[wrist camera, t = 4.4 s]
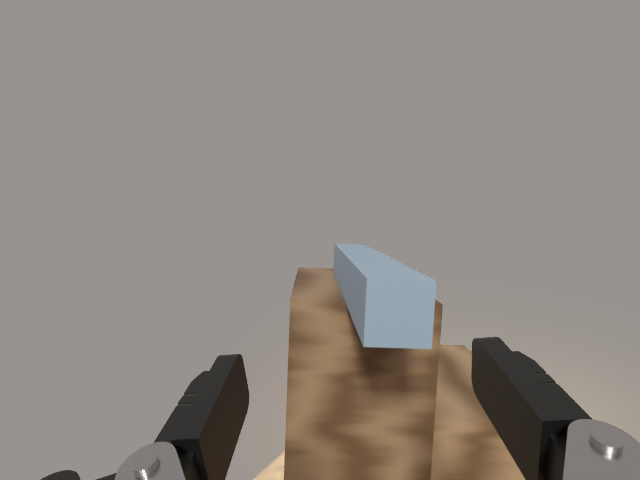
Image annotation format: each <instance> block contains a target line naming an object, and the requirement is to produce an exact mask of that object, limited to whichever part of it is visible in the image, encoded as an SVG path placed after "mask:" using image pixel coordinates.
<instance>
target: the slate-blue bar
mask: <svg viewBox="0 0 640 480" xmlns="http://www.w3.org/2000/svg"><path fill="white" fill-rule="evenodd" d="M333 273H334V276H335V278H336V281H337V283H338V286H339V288H340V291H341V293H342V296H343V298H344V300H345V303H346V305H347V308H348V310H349V313H350V315H351V318H352V320H353V323H354V325H355V328H356V330H357V332H358V335H359V337H360V340H361V342H362V345H363V347H378V348H413V349H432V340H433V325H434V310H435V293H436V281H435V280H433V279H431V278H429V277H427V276H425V275H423V274H421V273H419V272H417V271H416V270H413V269H412V268H410V267H407V266H406V265H404V264H402V263H400V262H398V261H396V260H394V259H392V258H390V257H388V256H386V255H384V254H382V253H380V252H378V251H376V250H374V249H372V248H370V247H368V246H366V245H362V244H336V243H335V246H334V269H333Z"/></svg>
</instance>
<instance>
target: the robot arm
mask: <svg viewBox="0 0 640 480" xmlns="http://www.w3.org/2000/svg"><path fill="white" fill-rule="evenodd" d="M471 379H472V386H473V390H474V393H475V395H476V397H477V399H478V401H479V403H480V404H481V406H482V408H483V409H484V411H485V413H486V414H487V416H488V418H489V419H490V421H491V423H492V424H493V426H494V428H495V429H496V431H497V433H498V434H499V436H500V438H501V439H502V441H503V443H504V445H505V446H506V448H507V450H508V451H509V453H510V455H511V456H512V458H513V460H514V461H515V463H516V465H517V466H518V468H519V470H520V471H521V473H522V475H523V476H524V478H525V480H640V443H639V442H638V441H637V440H635V439H634V438H633V437H632V436H630V435H629V434H627V433H626V432H624V431H623V430H621V429H619V428H617V427H615V426H613V425H610V424H608V423H605V422H601V421H597V420H593V419H592V418H591V417H590V416H589V415H588V414H587V413H586V412H585V411H584V410H583V409H582V408H581V407H580V406H579V405H578V404H577V403H576V402H575V401H574V400H573V399H572V398H571V397H570V396H569V395H568V394H567V393H566V392H565V391H564V390H563V389H562V388H561V387H560V386H559V385H558V384H556V382H555V381H554V380H553V379H552V378H551V377H550V376H549V375H548V374H546V372H545V371H544V370H543V369H542V368H541V367H540V366H539V365H538V364H537V363H536V362H535V361H534V360H533V359H531V358H529V357H527V356H526V355H524V354H522V353H521V352H519V351H514V352H512V351H511V350H510V349H509V348H508V347H507V345H505V343H504V342H503V341H502V340H501V339H500V338H498V337H488V338H476V339H473V342H472V371H471ZM248 405H249V390H248V384H247V379H246V374H245V368H244V363H243V358H242V356H241V355H240V354H233V355H220V356H218V357H217V359H216V360H215V362H214V364H213V366H212V368H211V369H210V371H204V372H202V373H201V374H200V375H199V376H197V377H196V378H195V379H194V380H193V381H192V382H191V383H190V385H189V386H188V388H187V390H186V391H185V393H184V396H182V398H181V399H180V401H179V403H178V406H176V408H175V409H174V411H173V412H172V414H171V416H170V417H169V419H168V420H167V422H166V424H165V425H164V427H163V429H162V430H161V432H160V433H159V435H158V437H157V438H156V440H155V442H154V443H152V444H149V445H147V446H144V447H142V448H140V449H139V450H137V451H136V452H134V453H133V454H132V455H130V456H129V457H128V458H127V459H126V460H125V461H124V462H123V464H122V465H121V466H120V468H119V469H118V471H117V473H115V474H112V475H109V476H106V477H103V478H100V479H97V480H225V477H226V475H227V471H228V468H229V465H230V462H231V459H232V456H233V453H234V450H235V447H236V444H237V441H238V438H239V435H240V432H241V429H242V426H243V423H244V420H245V417H246V414H247V410H248ZM41 480H80V477H79V475H78V474H77V472H75V471H71V470H65V471H60V472H56V473H53V474H51V475H49V476H47V477H45V478H43V479H41Z"/></svg>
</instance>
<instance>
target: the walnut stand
mask: <svg viewBox="0 0 640 480" xmlns="http://www.w3.org/2000/svg"><path fill="white" fill-rule="evenodd" d="M441 319H442V304H441V303H440V302H438V301H436V300H435V310H434V325H433V340H432V349H413V348H378V347H363V345H362V342H361V340H360V337H359V335H358V332H357V330H356V328H355V325H354V323H353V320H352V318H351V315H350V313H349V310H348V308H347V305H346V303H345V300H344V298H343V296H342V293H341V291H340V288H339V286H338V283H337V281H336V278H335V276H334V273H333V269H322V268H321V269H320V268H298V271H297V275H296V279H295V283H294V287H293V291H292V295H291V299H290V326H289V354H288V381H287V382H288V383H287V409H286V410H287V411H286V437H285V438H286V439H285V465H284V480H525V478H524V476H523V475H522V473H521V471H520V470H519V468H518V466H517V465H516V463H515V461H514V460H513V458H512V456H511V455H510V453H509V451H508V450H507V448H506V446H505V445H504V443H503V441H502V439H501V438H500V436H499V434H498V433H497V431H496V429H495V428H494V426H493V424H492V423H491V421H490V419H489V418H488V416H487V414H486V413H485V411H484V409H483V408H482V406H481V404H480V403H479V401H478V399H477V397H476V395H475V393H474V390H473V386H472V379H471V371H472V352H471V351H469V350H468V349H467V348H466V347H465V346H463V345H462V346H461V345H440V334H441Z"/></svg>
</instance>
